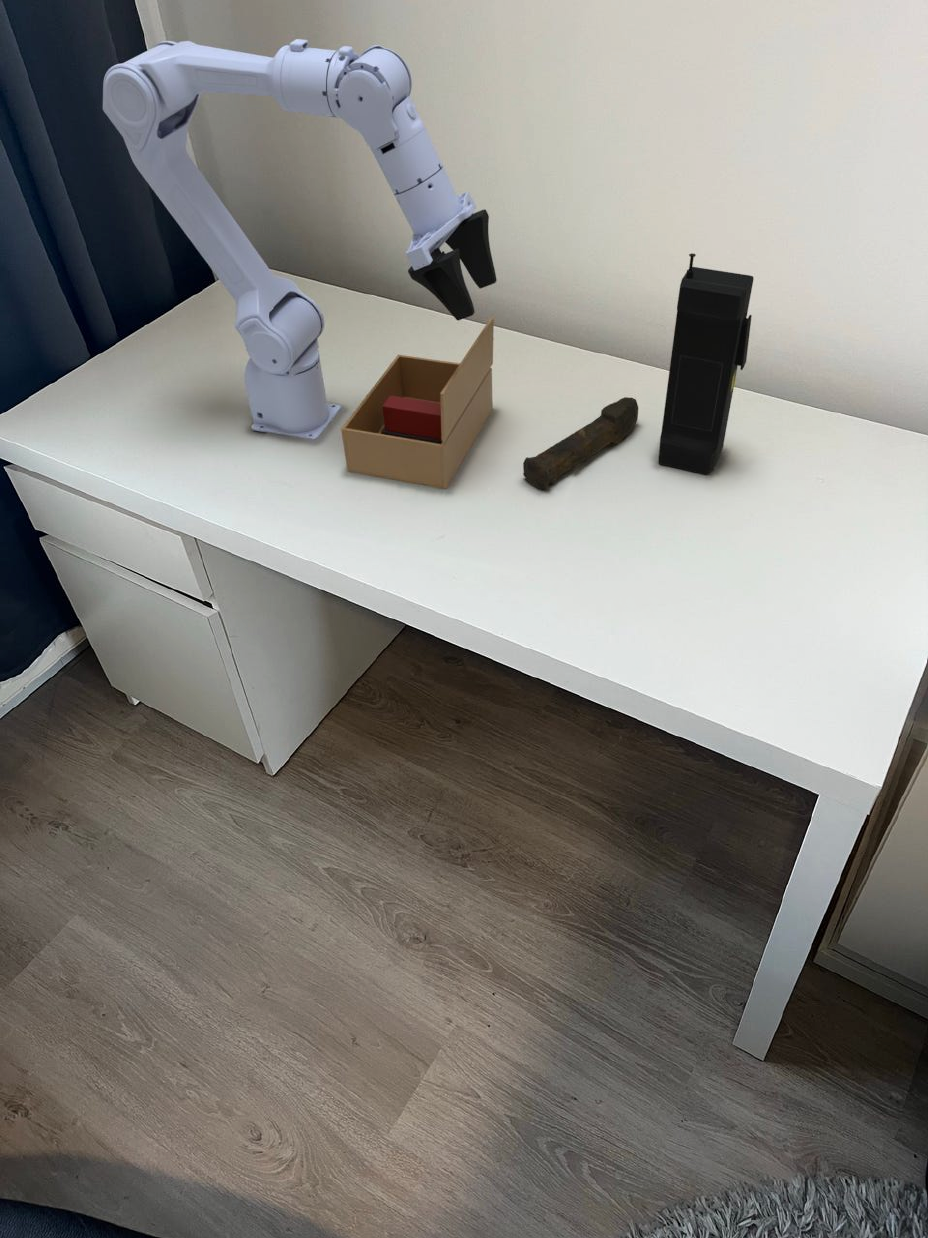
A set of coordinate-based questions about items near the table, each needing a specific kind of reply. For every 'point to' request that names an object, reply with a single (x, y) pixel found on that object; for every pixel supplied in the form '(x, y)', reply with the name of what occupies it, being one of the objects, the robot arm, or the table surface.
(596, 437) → the brown rough bar
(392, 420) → the stapler
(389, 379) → the carton
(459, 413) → the flap
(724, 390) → the portable radio
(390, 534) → the table surface
